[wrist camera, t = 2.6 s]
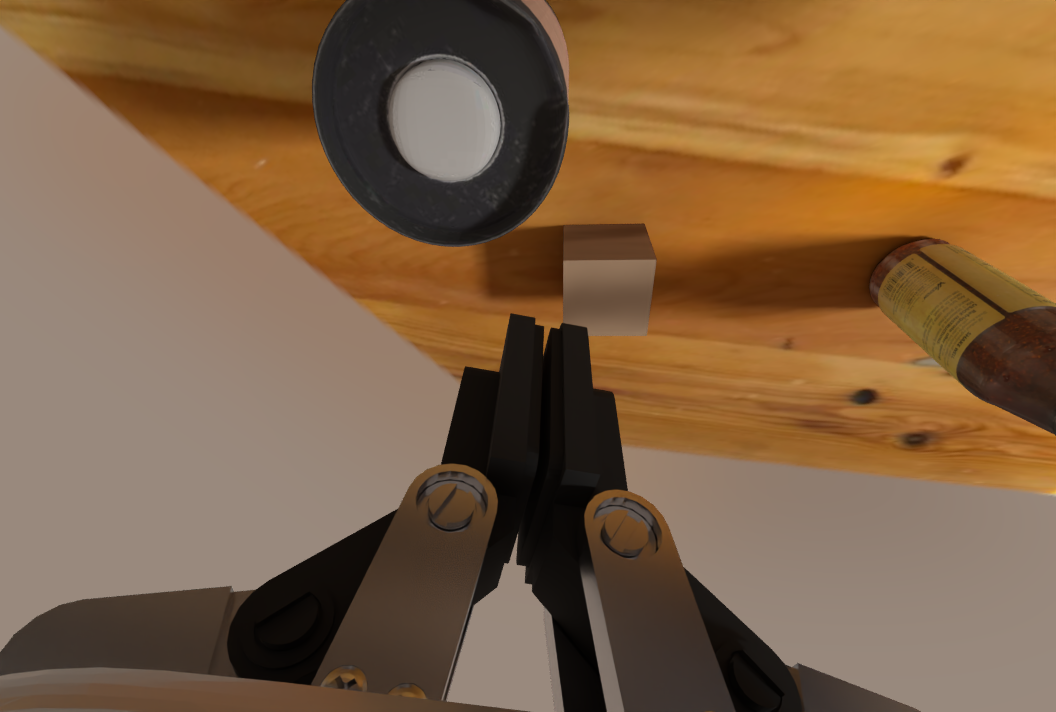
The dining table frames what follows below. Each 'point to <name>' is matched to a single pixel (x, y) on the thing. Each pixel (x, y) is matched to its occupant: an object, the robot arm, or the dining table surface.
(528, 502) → the robot arm
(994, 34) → the dining table surface
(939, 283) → the sauce bottle
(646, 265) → the grey cube
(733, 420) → the dining table surface
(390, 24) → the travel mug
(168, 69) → the dining table surface
